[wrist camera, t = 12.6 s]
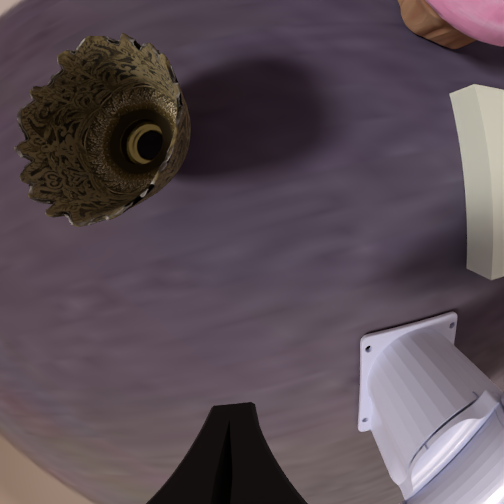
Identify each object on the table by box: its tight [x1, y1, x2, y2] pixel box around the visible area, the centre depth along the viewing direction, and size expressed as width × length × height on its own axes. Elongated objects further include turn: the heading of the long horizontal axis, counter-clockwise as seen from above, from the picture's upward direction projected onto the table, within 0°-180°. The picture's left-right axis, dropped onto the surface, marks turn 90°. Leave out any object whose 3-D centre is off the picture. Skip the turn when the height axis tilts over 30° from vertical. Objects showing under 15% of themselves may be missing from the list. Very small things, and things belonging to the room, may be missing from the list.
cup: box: [14, 33, 191, 227], centre depth 13 cm, size 8×7×8 cm
